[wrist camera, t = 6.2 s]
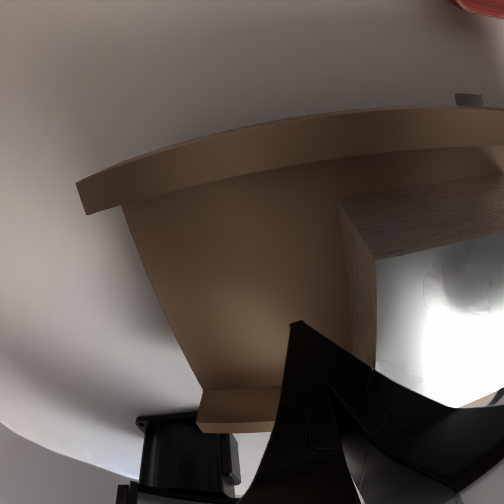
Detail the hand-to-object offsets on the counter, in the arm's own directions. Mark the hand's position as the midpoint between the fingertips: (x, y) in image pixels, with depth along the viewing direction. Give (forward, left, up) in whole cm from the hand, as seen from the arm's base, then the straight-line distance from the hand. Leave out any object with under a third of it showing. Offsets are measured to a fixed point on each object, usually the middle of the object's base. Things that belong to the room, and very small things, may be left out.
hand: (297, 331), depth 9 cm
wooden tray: (+9, 0, -2) cm, 9 cm away
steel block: (+6, 0, -1) cm, 6 cm away
